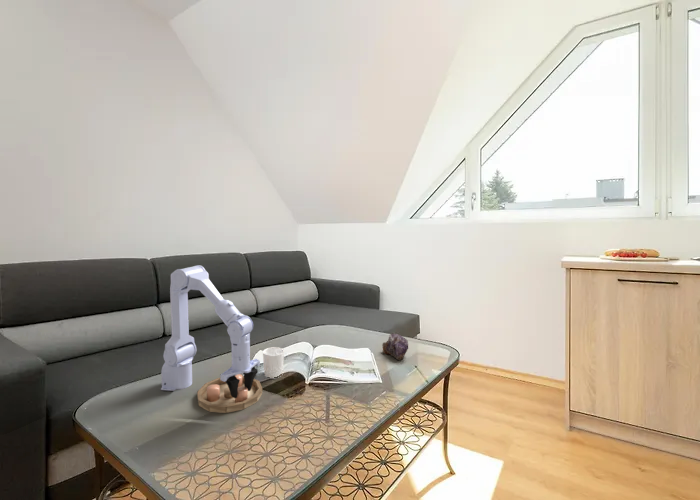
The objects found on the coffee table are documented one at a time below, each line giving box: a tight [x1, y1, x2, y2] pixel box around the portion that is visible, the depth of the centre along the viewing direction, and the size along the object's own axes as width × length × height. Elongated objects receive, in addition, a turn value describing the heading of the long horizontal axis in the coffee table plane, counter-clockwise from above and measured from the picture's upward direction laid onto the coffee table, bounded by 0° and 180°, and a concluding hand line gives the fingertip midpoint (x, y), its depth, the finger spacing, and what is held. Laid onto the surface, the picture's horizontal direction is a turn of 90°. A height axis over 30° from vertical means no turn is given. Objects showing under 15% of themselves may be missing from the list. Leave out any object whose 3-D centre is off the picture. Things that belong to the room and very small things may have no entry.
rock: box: [381, 333, 409, 361], centre depth 166 cm, size 12×9×10 cm
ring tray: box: [197, 375, 263, 414], centre depth 128 cm, size 20×20×3 cm
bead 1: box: [207, 384, 220, 402], centre depth 125 cm, size 4×4×4 cm
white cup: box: [262, 346, 285, 379], centre depth 143 cm, size 8×8×10 cm
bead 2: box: [235, 374, 243, 387], centre depth 133 cm, size 4×4×4 cm
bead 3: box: [235, 386, 248, 403], centre depth 124 cm, size 4×4×4 cm
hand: (241, 393), depth 124 cm, fingers open, 5 cm apart
